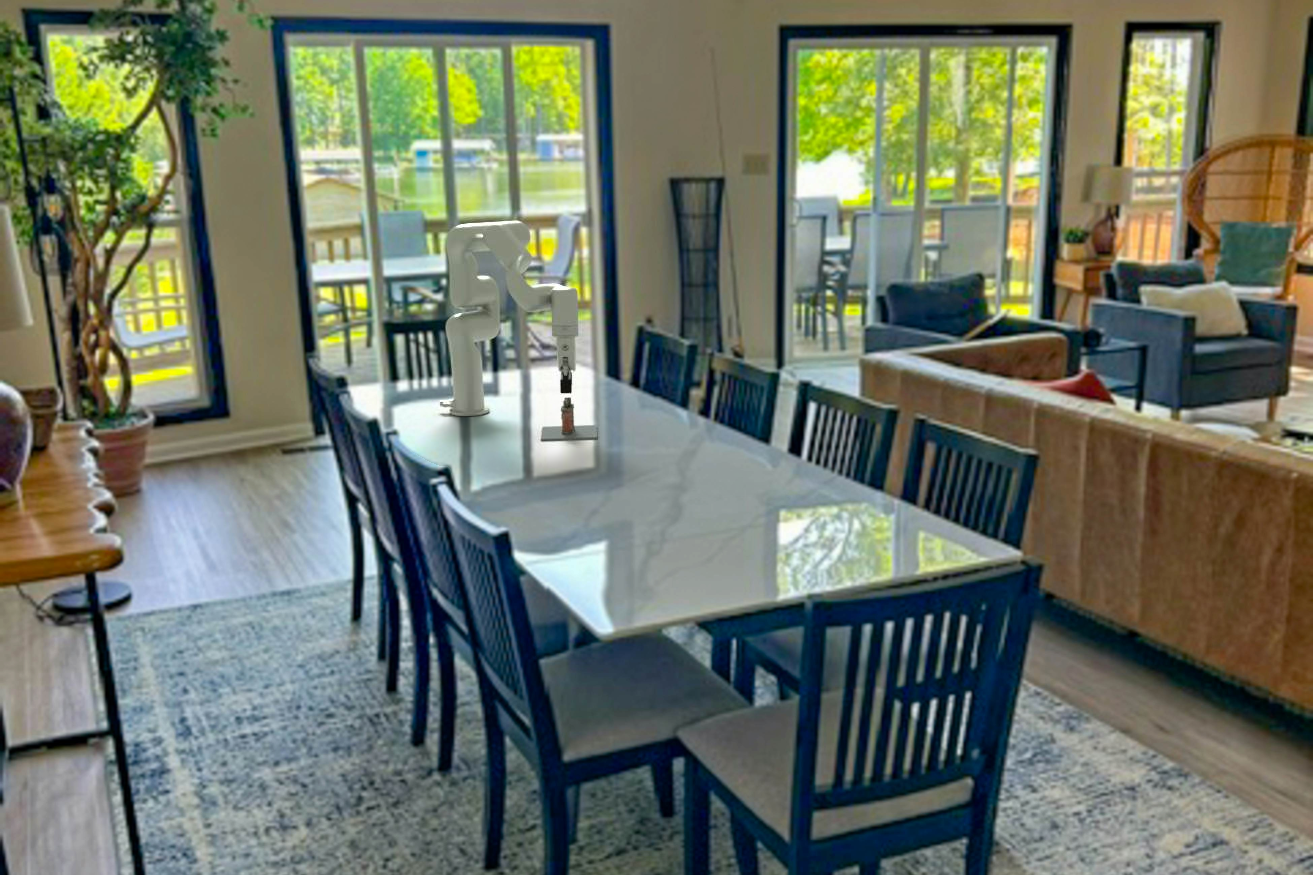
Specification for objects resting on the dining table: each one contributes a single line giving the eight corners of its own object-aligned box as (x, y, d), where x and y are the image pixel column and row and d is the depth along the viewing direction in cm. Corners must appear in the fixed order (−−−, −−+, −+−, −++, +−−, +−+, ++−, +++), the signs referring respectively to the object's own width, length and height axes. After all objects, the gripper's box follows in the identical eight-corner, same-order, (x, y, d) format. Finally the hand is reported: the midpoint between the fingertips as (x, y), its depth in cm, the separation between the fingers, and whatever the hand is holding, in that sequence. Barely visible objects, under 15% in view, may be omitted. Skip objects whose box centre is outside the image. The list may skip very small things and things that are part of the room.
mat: (540, 441, 321) (540, 439, 321) (542, 428, 335) (542, 426, 335) (597, 439, 322) (597, 437, 322) (596, 426, 336) (596, 425, 336)
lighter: (565, 428, 333) (564, 395, 330) (576, 428, 332) (575, 395, 330) (559, 434, 325) (558, 400, 323) (571, 435, 325) (570, 401, 322)
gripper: (578, 335, 313) (579, 396, 318) (578, 325, 330) (579, 382, 334) (551, 336, 313) (552, 396, 317) (552, 325, 330) (554, 383, 334)
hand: (566, 389), depth 326 cm, fingers open, 9 cm apart
